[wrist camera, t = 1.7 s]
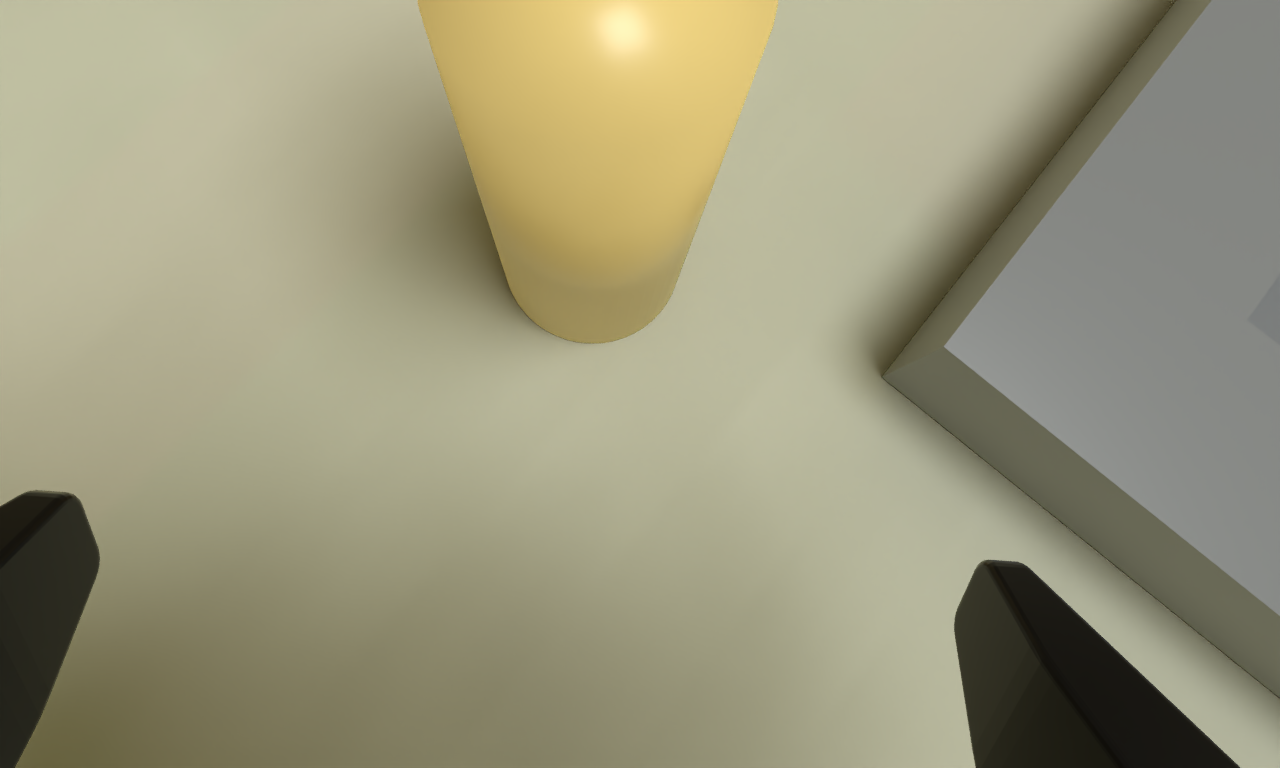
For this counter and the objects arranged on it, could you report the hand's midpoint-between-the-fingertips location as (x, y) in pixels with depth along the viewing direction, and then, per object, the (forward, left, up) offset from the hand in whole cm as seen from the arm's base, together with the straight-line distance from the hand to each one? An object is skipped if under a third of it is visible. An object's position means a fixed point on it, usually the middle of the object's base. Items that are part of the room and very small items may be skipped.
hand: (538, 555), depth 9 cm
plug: (+4, -6, -13) cm, 14 cm away
